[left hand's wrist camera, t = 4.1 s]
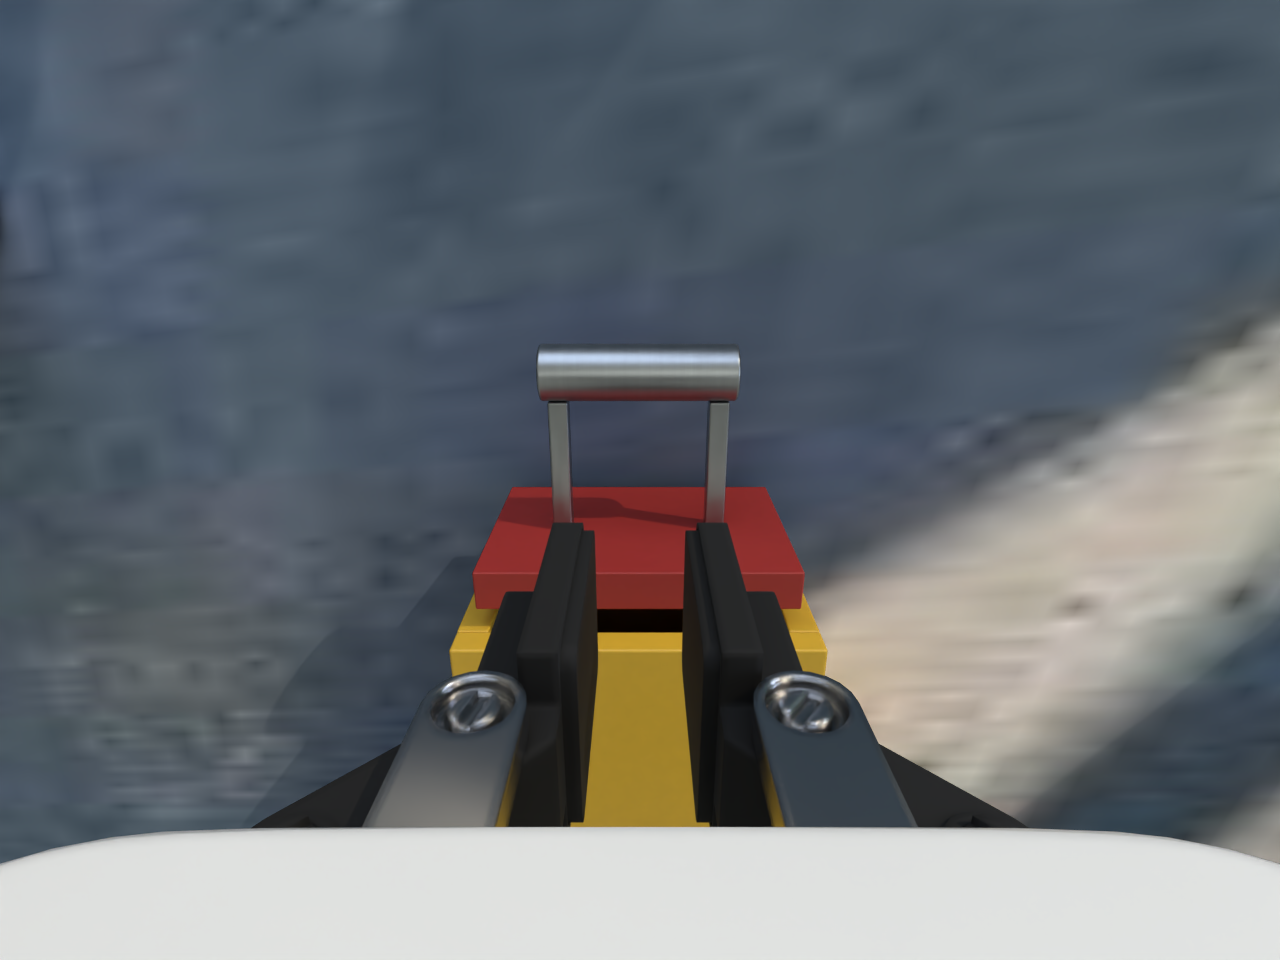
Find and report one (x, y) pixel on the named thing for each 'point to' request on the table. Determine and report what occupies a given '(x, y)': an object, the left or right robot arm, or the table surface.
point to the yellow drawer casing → (638, 718)
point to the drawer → (638, 492)
